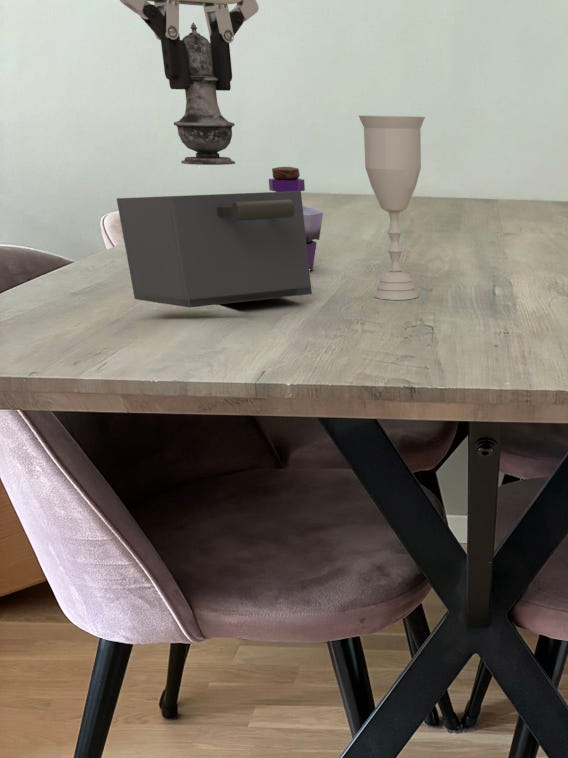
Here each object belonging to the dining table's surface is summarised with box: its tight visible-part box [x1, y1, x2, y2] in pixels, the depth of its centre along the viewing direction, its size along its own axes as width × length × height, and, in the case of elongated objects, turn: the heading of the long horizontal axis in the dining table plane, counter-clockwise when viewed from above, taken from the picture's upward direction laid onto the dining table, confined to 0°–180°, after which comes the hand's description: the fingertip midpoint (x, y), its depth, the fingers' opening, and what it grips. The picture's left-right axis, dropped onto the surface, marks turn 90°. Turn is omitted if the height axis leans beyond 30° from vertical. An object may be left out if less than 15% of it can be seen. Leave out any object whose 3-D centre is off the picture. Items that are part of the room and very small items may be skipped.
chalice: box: [358, 115, 426, 301], centre depth 104 cm, size 7×7×18 cm
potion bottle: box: [268, 166, 324, 269], centre depth 121 cm, size 9×9×12 cm
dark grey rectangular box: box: [116, 191, 313, 309], centre depth 99 cm, size 19×14×10 cm
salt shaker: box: [173, 22, 236, 166], centre depth 94 cm, size 6×6×12 cm
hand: (200, 87), depth 93 cm, fingers closed on salt shaker, 3 cm apart
